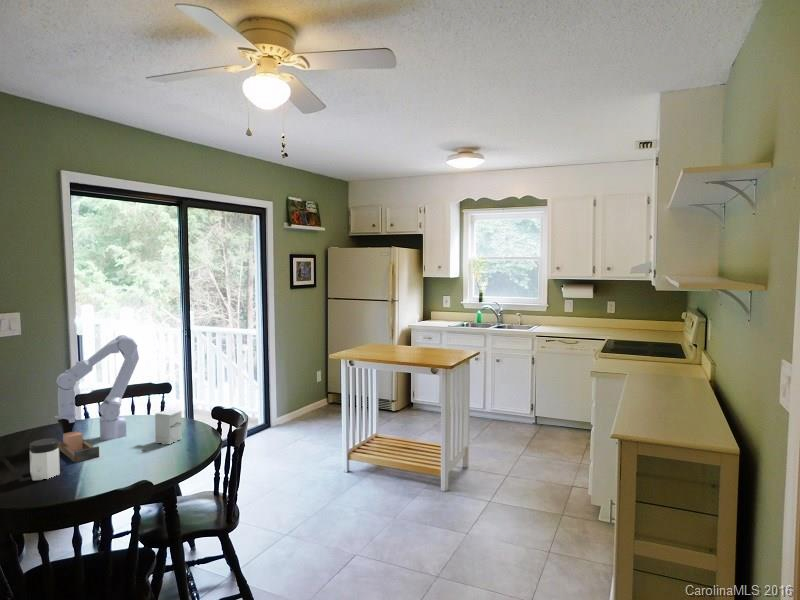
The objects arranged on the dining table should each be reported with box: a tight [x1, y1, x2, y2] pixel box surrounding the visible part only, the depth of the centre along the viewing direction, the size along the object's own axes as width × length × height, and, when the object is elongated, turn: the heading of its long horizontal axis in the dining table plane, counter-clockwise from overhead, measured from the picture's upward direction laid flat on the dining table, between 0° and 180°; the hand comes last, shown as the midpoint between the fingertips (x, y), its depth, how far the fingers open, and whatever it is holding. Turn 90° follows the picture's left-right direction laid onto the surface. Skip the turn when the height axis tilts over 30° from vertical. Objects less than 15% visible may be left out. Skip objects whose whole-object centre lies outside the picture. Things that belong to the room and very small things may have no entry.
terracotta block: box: [62, 430, 84, 451], centre depth 203 cm, size 5×6×6 cm
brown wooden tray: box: [58, 438, 102, 466], centre depth 199 cm, size 12×22×5 cm, turn 48°
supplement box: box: [154, 409, 183, 445], centre depth 215 cm, size 7×7×13 cm
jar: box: [29, 437, 61, 481], centre depth 179 cm, size 9×8×12 cm
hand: (67, 436), depth 207 cm, fingers closed
